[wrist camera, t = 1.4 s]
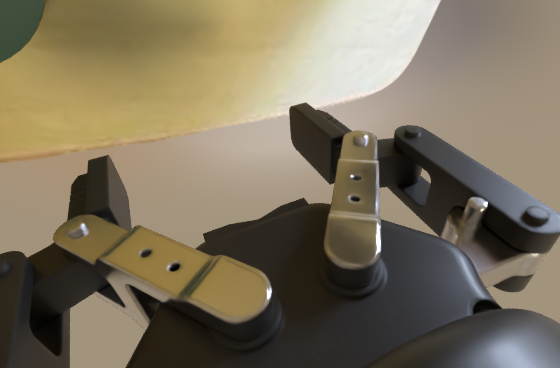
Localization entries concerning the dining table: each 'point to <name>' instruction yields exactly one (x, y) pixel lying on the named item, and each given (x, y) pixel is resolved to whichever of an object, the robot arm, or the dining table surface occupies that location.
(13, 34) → the lid
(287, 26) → the dining table surface
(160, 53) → the dining table surface
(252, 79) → the dining table surface
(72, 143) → the dining table surface
